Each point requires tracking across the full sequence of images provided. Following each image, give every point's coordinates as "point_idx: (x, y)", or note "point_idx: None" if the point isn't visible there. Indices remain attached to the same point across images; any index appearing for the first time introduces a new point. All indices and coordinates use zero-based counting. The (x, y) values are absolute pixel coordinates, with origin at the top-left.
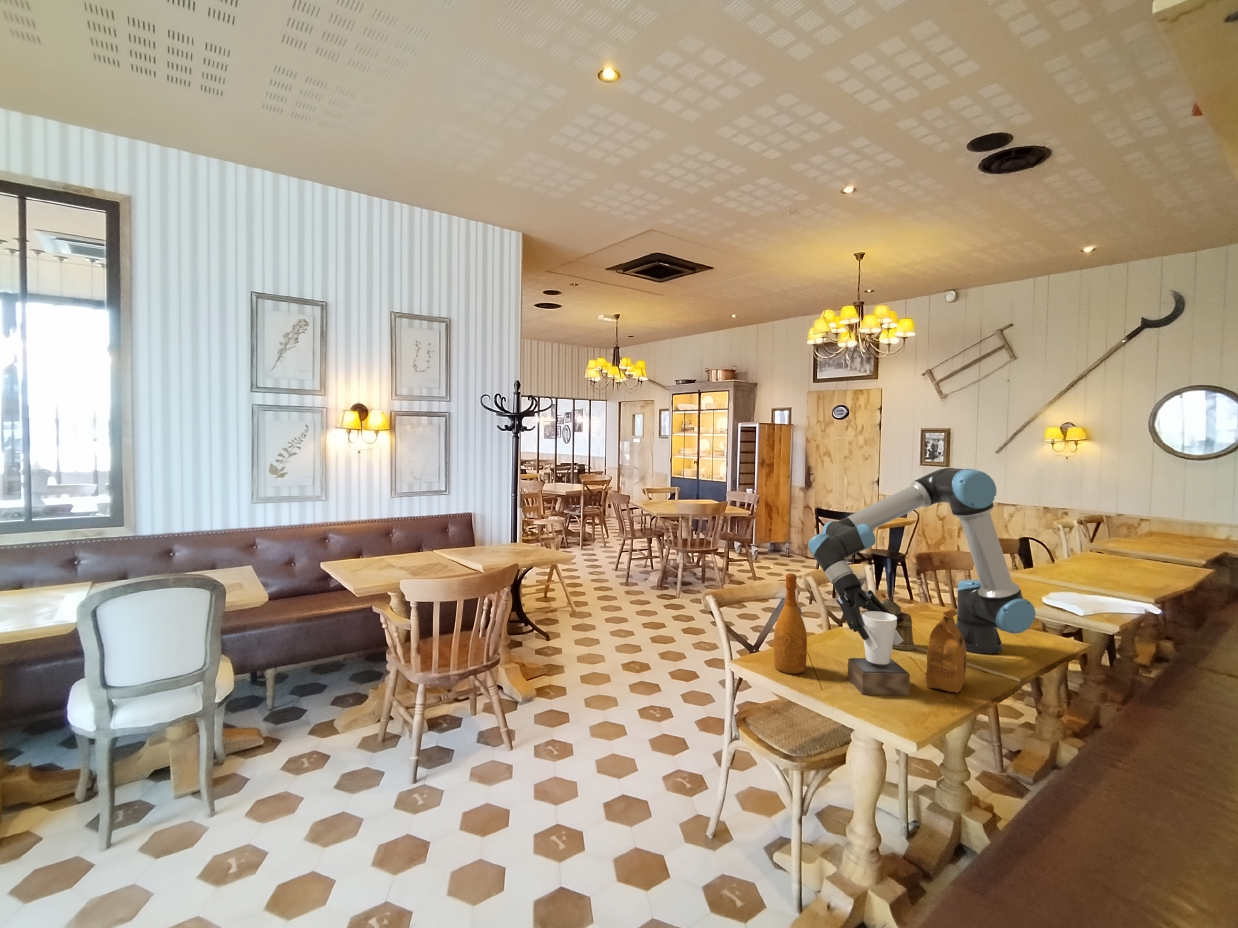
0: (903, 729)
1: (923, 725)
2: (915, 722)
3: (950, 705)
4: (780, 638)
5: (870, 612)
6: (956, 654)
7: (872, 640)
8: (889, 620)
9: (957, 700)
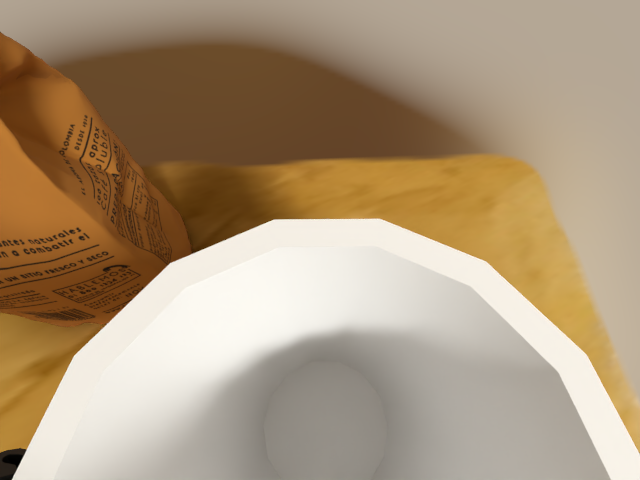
0: (516, 195)
1: (447, 180)
2: (452, 197)
3: (268, 197)
4: None
5: None
6: (107, 127)
7: None
8: (401, 244)
9: (217, 201)
